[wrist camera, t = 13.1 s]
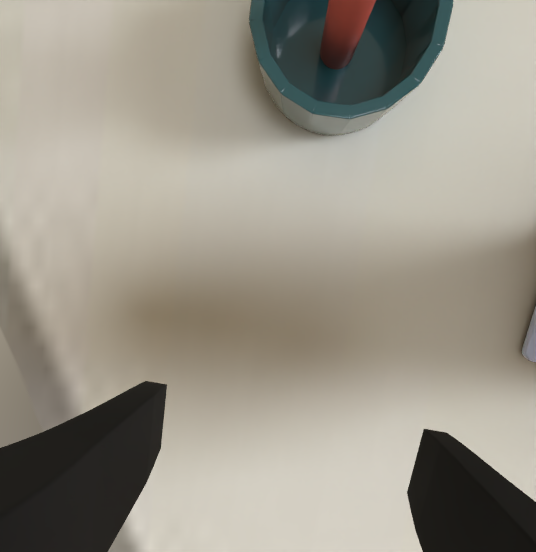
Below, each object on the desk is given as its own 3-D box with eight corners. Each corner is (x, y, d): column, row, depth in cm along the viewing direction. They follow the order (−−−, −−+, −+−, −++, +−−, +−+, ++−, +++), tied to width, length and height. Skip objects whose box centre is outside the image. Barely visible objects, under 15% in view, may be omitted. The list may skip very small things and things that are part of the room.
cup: (429, -20, 17) (475, -93, 13) (395, 145, 19) (425, 130, 14) (273, -40, 17) (265, -118, 13) (251, 124, 19) (238, 103, 14)
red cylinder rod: (356, 35, 17) (426, -148, 8) (349, 71, 18) (410, -65, 8) (323, 31, 17) (355, -157, 8) (317, 67, 18) (341, -73, 8)
